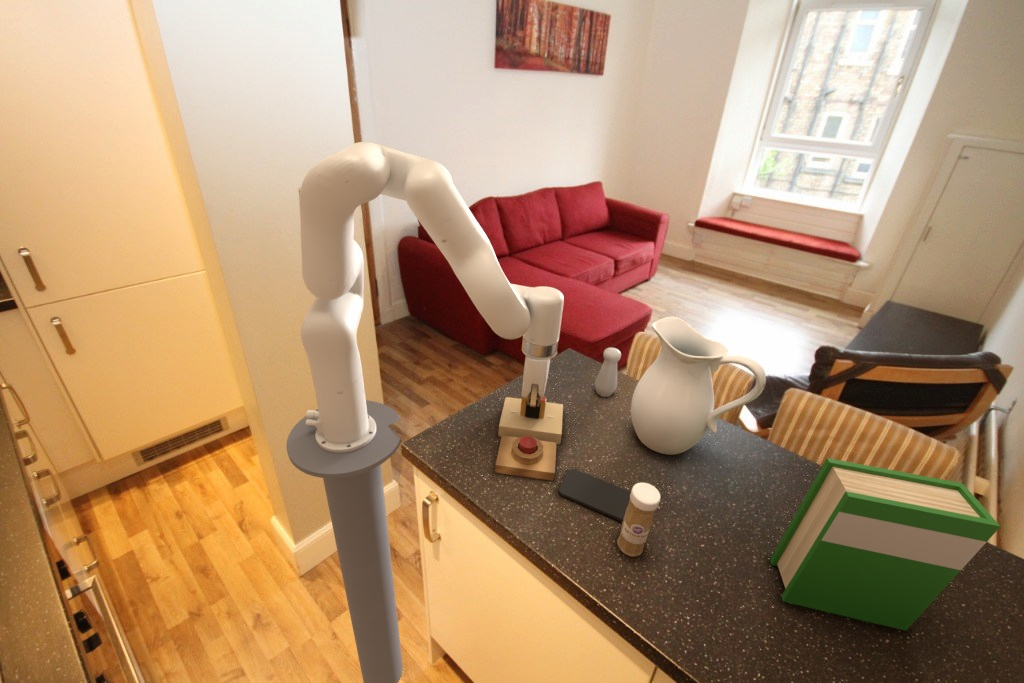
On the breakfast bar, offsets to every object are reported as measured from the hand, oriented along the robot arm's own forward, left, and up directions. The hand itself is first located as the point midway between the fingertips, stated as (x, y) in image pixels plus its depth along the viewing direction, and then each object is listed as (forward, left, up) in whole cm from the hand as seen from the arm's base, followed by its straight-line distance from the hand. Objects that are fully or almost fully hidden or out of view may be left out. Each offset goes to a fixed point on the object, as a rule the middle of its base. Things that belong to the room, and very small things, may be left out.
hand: (532, 413), depth 103 cm
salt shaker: (+18, +17, -4) cm, 25 cm away
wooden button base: (0, -12, -3) cm, 12 cm away
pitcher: (+33, -1, -4) cm, 33 cm away
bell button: (0, -12, 0) cm, 12 cm away
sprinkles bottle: (+20, -29, -4) cm, 35 cm away
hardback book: (+53, -32, -4) cm, 62 cm away
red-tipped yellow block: (0, 0, 0) cm, 0 cm away
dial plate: (0, 0, -3) cm, 3 cm away
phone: (+15, -19, -3) cm, 24 cm away
